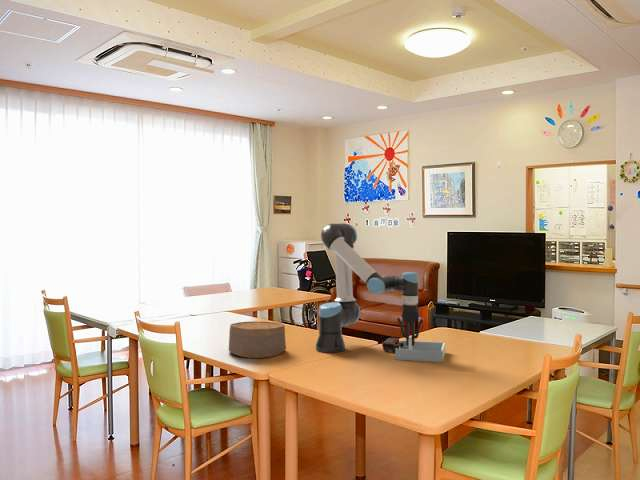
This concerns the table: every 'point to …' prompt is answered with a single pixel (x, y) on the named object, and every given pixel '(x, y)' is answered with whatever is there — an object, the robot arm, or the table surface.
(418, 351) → the walled box
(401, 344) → the electronic device
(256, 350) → the container
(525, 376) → the table surface
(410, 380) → the table surface
